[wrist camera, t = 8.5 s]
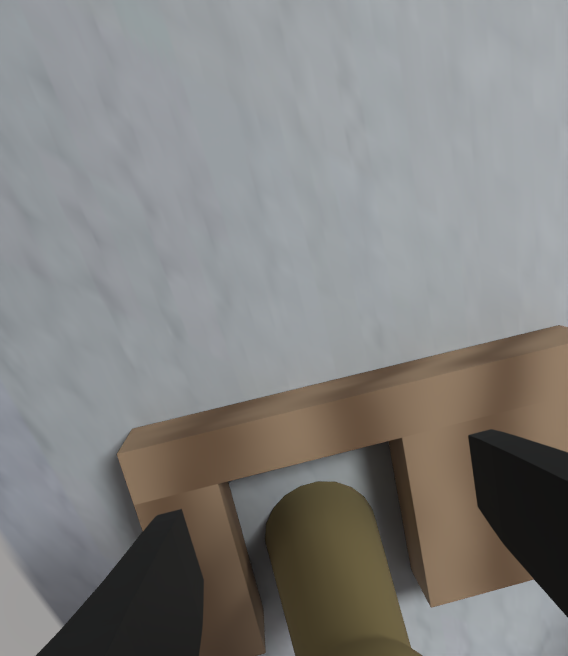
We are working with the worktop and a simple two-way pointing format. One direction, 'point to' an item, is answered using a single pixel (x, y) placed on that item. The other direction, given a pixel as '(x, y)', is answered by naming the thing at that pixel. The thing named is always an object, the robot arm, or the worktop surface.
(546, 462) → the robot arm
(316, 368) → the worktop surface
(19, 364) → the worktop surface
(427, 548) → the notched board
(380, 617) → the cork
